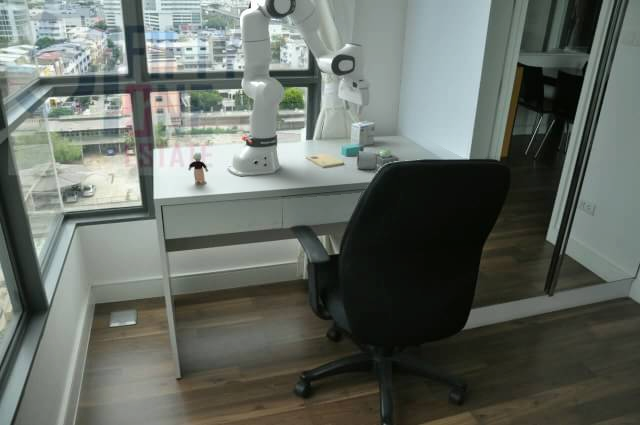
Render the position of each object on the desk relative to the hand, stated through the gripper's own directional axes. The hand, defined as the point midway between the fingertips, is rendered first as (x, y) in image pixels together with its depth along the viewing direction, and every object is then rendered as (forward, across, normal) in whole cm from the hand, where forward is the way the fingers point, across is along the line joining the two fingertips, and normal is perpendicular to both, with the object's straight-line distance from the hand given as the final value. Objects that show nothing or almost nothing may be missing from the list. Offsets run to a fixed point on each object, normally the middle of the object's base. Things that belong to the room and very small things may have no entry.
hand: (352, 111), depth 231 cm
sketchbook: (+20, +4, -18) cm, 27 cm away
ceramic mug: (+20, +19, -6) cm, 28 cm away
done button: (+18, +17, +7) cm, 26 cm away
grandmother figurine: (+18, +6, -76) cm, 79 cm away
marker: (+20, 0, 0) cm, 20 cm away
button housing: (+20, +17, +6) cm, 27 cm away
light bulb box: (+21, -12, +14) cm, 28 cm away
